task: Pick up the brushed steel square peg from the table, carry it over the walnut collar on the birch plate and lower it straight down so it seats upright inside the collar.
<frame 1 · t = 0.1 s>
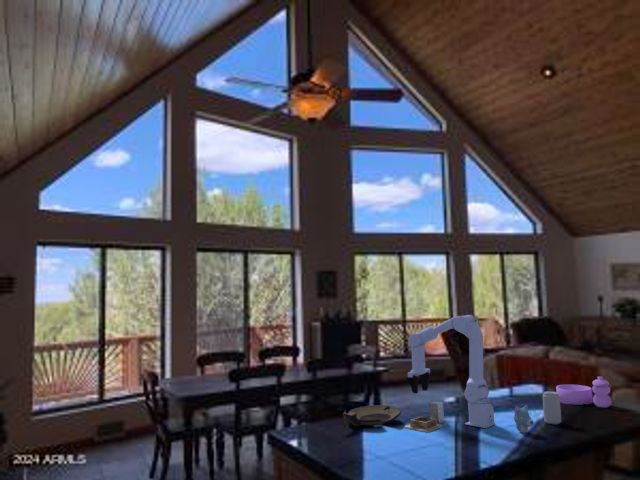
hand: (420, 391, 236), 10 cm above the kitchen island counter, tool pointing down, fingers open, 7 cm apart
collar: (423, 427, 214), on the kitchen island counter
olive shallow bowl: (368, 424, 223), on the kitchen island counter
container set: (584, 403, 247), on the kitchen island counter
peg: (437, 422, 221), on the kitchen island counter
beverage can: (552, 423, 215), on the kitchen island counter
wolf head: (525, 433, 201), on the kitchen island counter
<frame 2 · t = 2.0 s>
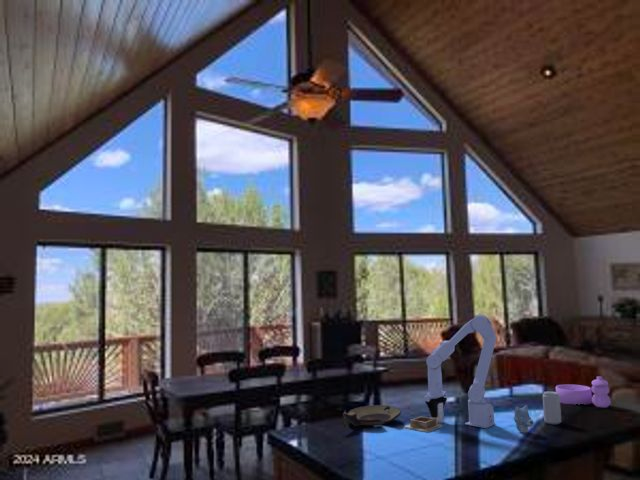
hand: (436, 416, 222), 2 cm above the kitchen island counter, tool pointing down, fingers closed on peg, 4 cm apart
peg: (437, 422, 222), on the kitchen island counter, touching gripper
everything else where it was.
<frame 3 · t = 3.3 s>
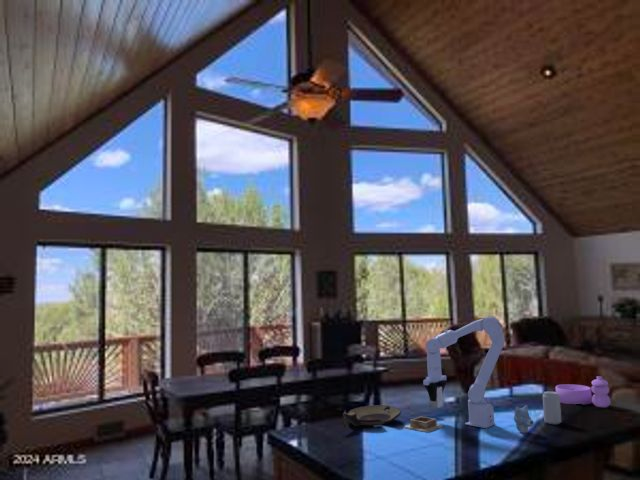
hand: (436, 400, 222), 9 cm above the kitchen island counter, tool pointing down, fingers closed on peg, 4 cm apart
peg: (436, 406, 222), point 6 cm above the kitchen island counter, touching gripper
everything else where it was.
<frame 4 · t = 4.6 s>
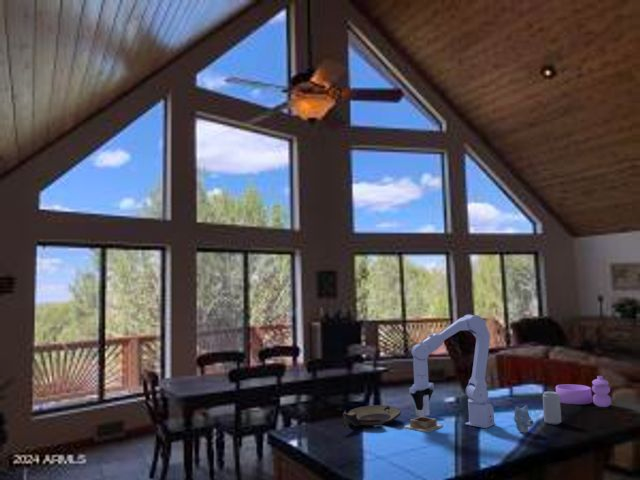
hand: (422, 408, 215), 7 cm above the kitchen island counter, tool pointing down, fingers closed on peg, 4 cm apart
peg: (422, 414, 215), point 5 cm above the kitchen island counter, touching gripper
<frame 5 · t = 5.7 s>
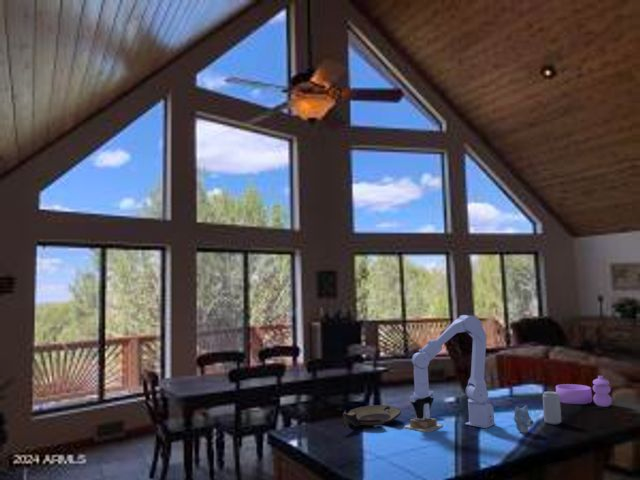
hand: (423, 417, 215), 4 cm above the kitchen island counter, tool pointing down, fingers closed on peg, 4 cm apart
peg: (423, 423, 215), point 1 cm above the kitchen island counter, touching gripper
when the fingers open (4 cm above the kitchen island counter, at t = 5.7 s): peg stays where it is, resting on collar.
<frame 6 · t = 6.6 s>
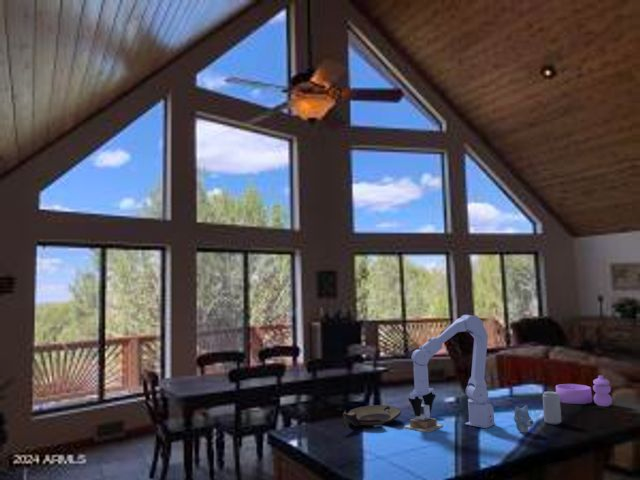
hand: (423, 414, 215), 5 cm above the kitchen island counter, tool pointing down, fingers open, 7 cm apart
peg: (423, 425, 215), point 1 cm above the kitchen island counter, touching collar
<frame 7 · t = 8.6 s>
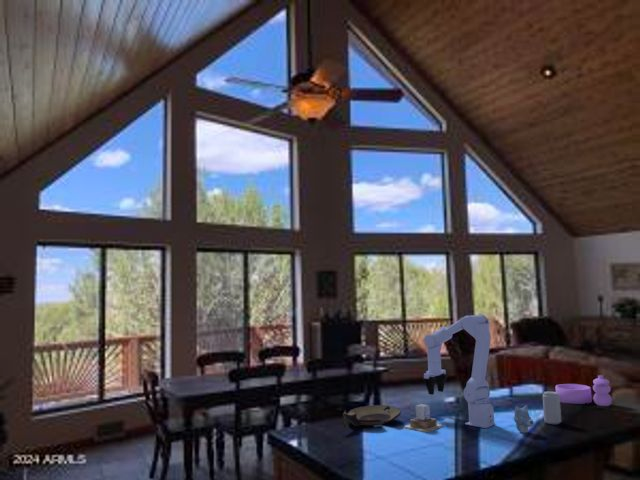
hand: (435, 392, 235), 9 cm above the kitchen island counter, tool pointing down, fingers open, 7 cm apart
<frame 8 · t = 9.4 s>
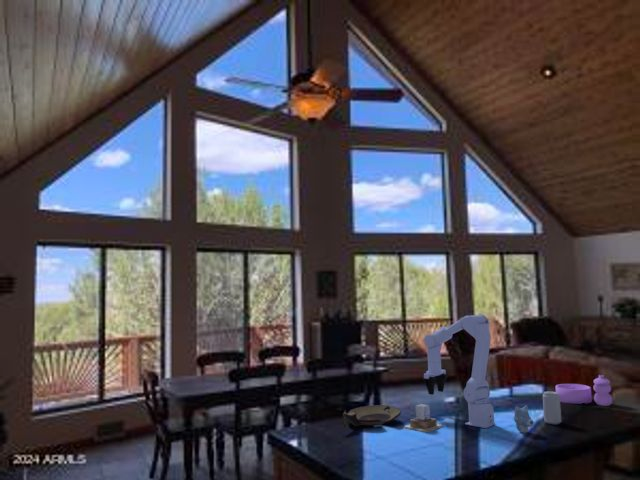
hand: (435, 392, 235), 9 cm above the kitchen island counter, tool pointing down, fingers open, 7 cm apart
at the end: peg 0.1 cm off-centre on the collar, point 0.6 cm above the collar's base; peg tilted 0°; the gripper is holding nothing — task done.
